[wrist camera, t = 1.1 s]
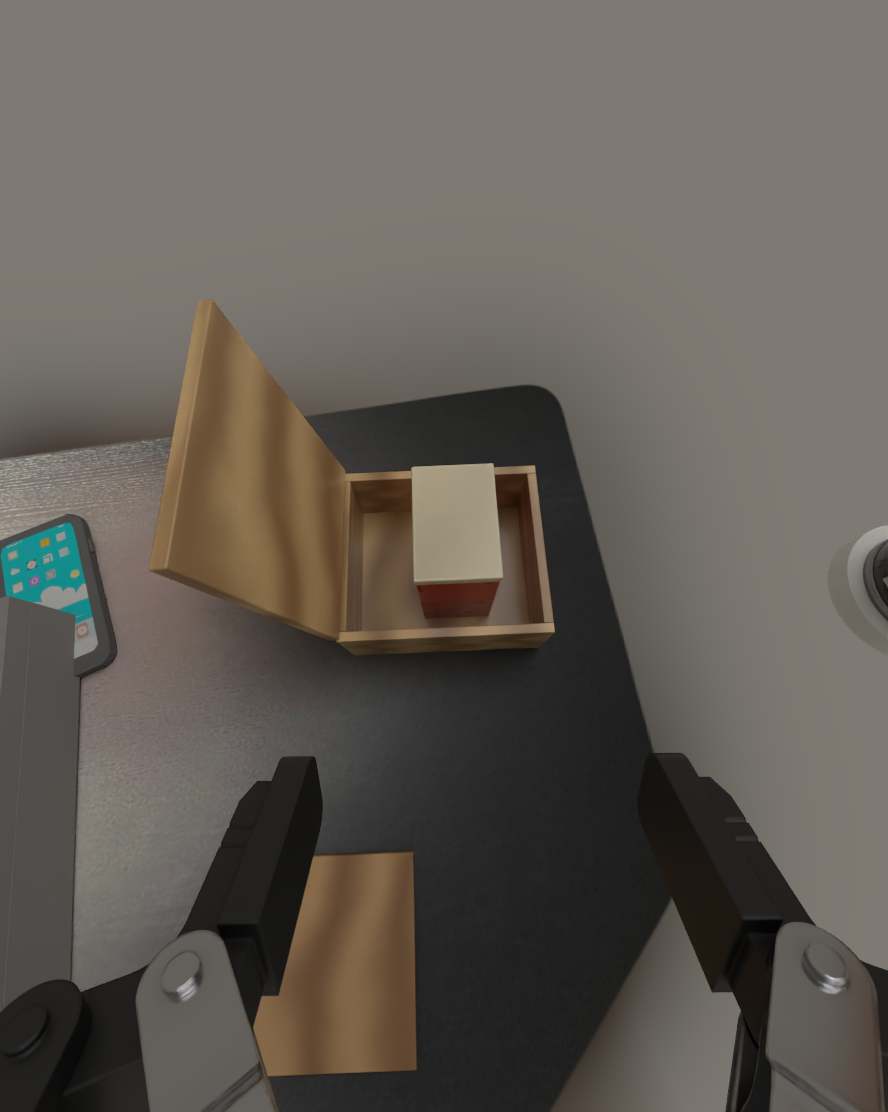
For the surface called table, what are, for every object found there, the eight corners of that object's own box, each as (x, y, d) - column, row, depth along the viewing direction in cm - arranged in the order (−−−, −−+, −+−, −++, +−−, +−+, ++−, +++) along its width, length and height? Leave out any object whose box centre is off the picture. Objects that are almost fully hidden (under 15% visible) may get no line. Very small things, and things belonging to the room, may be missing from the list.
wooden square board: (413, 850, 35) (413, 852, 34) (417, 1065, 30) (416, 1070, 30) (249, 857, 35) (247, 859, 34) (231, 1073, 30) (227, 1078, 30)
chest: (523, 502, 44) (534, 465, 38) (538, 647, 39) (555, 632, 33) (357, 510, 44) (341, 473, 38) (354, 655, 39) (335, 641, 33)
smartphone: (6, 705, 37) (-17, 546, 42) (17, 705, 38) (-7, 549, 43) (114, 657, 39) (80, 508, 43) (122, 659, 40) (87, 512, 44)
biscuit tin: (483, 527, 42) (493, 462, 32) (490, 617, 40) (503, 577, 29) (421, 530, 42) (411, 466, 32) (423, 620, 40) (413, 582, 29)
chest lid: (211, 297, 22) (196, 300, 22) (165, 568, 18) (147, 570, 18) (345, 470, 37) (335, 471, 37) (339, 640, 33) (328, 641, 33)
